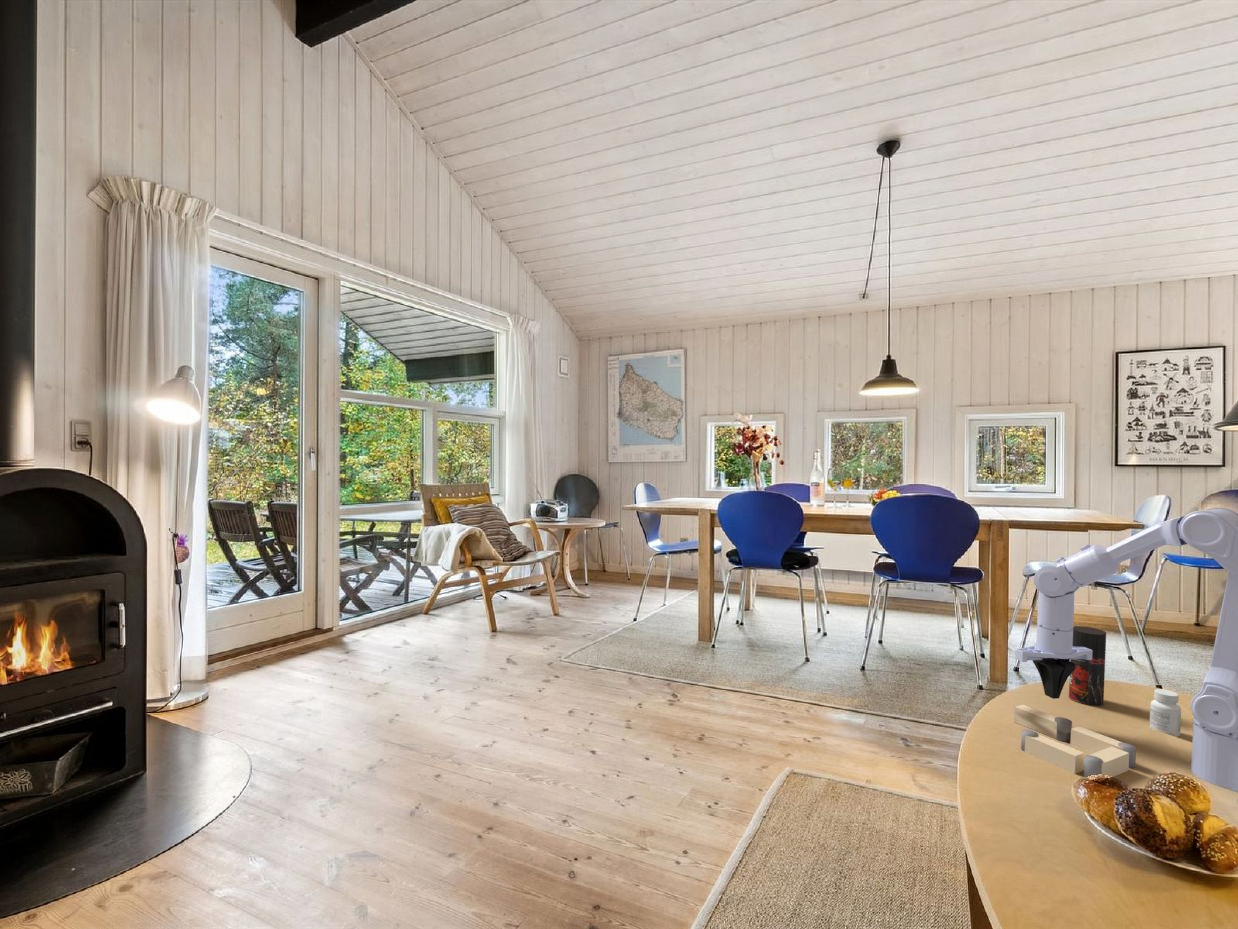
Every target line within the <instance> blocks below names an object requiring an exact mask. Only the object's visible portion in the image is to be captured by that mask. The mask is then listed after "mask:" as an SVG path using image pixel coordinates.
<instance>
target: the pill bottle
mask: <svg viewBox="0 0 1238 929" xmlns="http://www.w3.org/2000/svg"><path fill="white" fill-rule="evenodd" d="M1153 694H1154V695H1153V698H1154V699H1152V700H1151V702H1150V706H1149V707H1150V708H1149V709H1150V710H1149V728H1150V729H1152V730H1155V731H1157V732H1159V733H1163V734H1166V735H1169V736H1172V737H1175V738H1178V737H1180V736H1181V727H1182V726H1181V724H1182V723H1181V722H1182V720H1181V719H1182V708H1181V707H1180V705H1179V704H1178V703H1179V697H1180V696H1179V694H1178V693H1177V692H1175V691H1171V690H1169V689H1163V688H1162V689H1161V688H1156V689H1154V693H1153Z"/></svg>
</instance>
